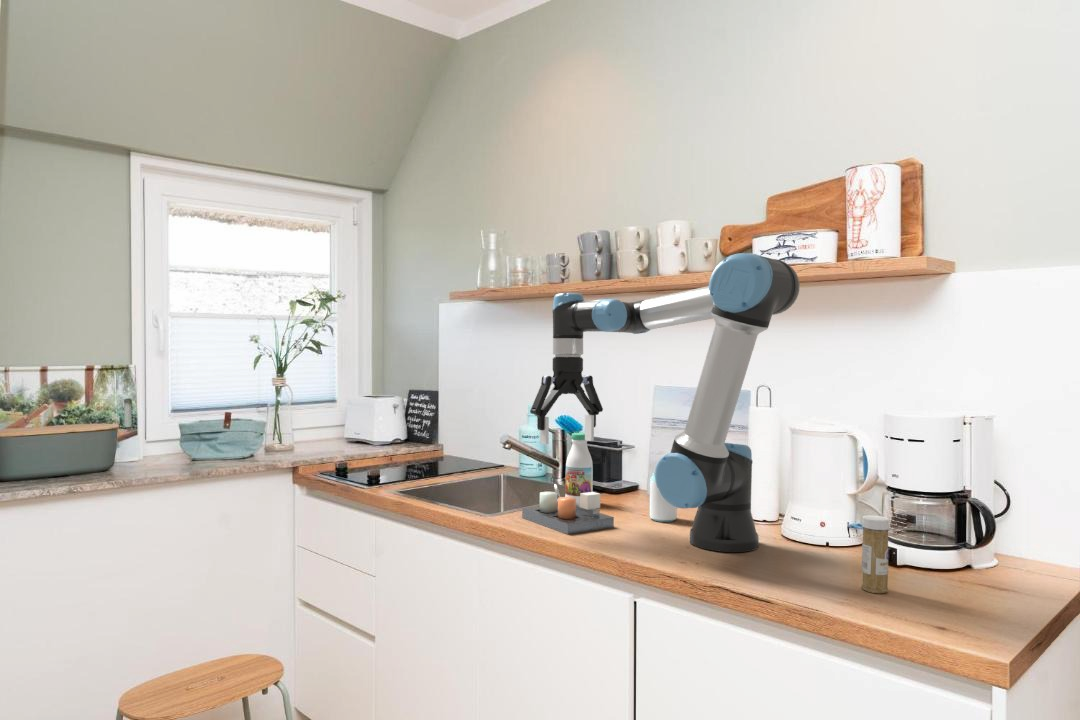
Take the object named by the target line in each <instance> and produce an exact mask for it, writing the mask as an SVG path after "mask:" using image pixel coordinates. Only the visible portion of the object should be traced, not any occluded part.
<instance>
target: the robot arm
mask: <svg viewBox="0 0 1080 720" xmlns="http://www.w3.org/2000/svg"><path fill="white" fill-rule="evenodd" d="M799 295H800V279H799V276H798V274H797V272H796V271H795V269H794V268H793V267H792V266H791V265H790V264H788V263H787V262H785V261H784V260H783V261H782V260H781V259H775V258H770V257H766V256H762V255H758V254H756V253H749V252H746V253H743V252H741V253H735V254H731V255H728V256H727V257H726V258H724V259H722V260H721V261H720V262H719V263H718V264H717V265H716V266H715V268H714V270H713V271H712V273H711V275H710V277H709V282H708V285H707V286H702V287H698V288H694V289H689V290H684V291H679V292H673V293H670V294H665V295H661V296H655V297H652V298H646V299H644V300H638V301H634V302H627V301H626V302H625V301H621V300H619V299H616V298H603V299H594V300H592V299H591V300H584V295H583V294H582V293H579V292H578V293H577V292H562V293H555V295H554V297H553V302H552V303H553V305H552V311H551V312H552V354H553V355H554V356H553V358H552V372H553V376H551V375H543V376H542V377H541V383H540V387H539V389H538V391H537V394H536V395H535V398H534V401H533V403H532V406H531V408H530V410H529V412H530V414H531V415H534V416H535V417H536V418H537V424H536V426H537V430H538V431H539V444H540V445H541V444H543V445H549V439H550V438H549V435H550V434H549V430H550V420H549V419H550V417H549V416H547V415H548V413H549V412H550V411H551V409H552V408H553V406H554V404H555V403H556V401H557V400H558V398H560V396H562V395H569V394H571V395H575V396H576V398H577V399H578V400H579V402H580V404H581V406H583V408H584V410H585V411H586V412H587V414H584V433H585V440H587V442H594V441H595V440H594V439H595V436H594V435H595V428H596V427H597V415H600V413H602V412H603V410H604V408H603V406H602V403H601V401H600V398H599V396H598V393H597V390H596V387H595V385H594V379H593V375H583V374H582V373H583V372H584V371H583V370H584V358H583V357H582V356H583V354H584V332H604V333H627V334H634V335H635V334H636V335H637V334H638V335H639V334H645V333H648V332H649V331H651V330H657V329H661V328H666V327H673V326H679V325H684V324H690V323H694V322H701V321H707V320H712V319H713V320H714V322H715V326H714V328H713V331H712V336H711V339H710V341H709V342H710V343H709V345H708V348H707V349H708V350H707V353H706V356H705V359H704V363H703V366H702V369H701V370H702V371H701V373H700V377H699V380H698V383H697V386H696V390H695V394H694V397H693V401H692V404H691V406H690V407H691V408H690V410H689V414H688V417H687V420H686V423H685V426H684V431H682V432H680V433H679V434H677V435H675V437H674V440H673V443H672V446H671V449H670V452H668V453H667V454H665V455H664V456H662V458H660V459H659V460H658V462H657V464H656V466H655V469H654V470H655V481H656V485H657V488H659V491H660V494H661V495H662V497H663V498H664V499H665V500H666V501H667V502H668V503H670V504H671V505H673V506H675V507H677V509H696V508H697V510H696V513H695V516H694V519H693V521H692V522H693V523H692V527H691V528H690V530H689V542H690V544H691V545H693V546H695V547H697V548H700V549H704V550H708V551H713V552H720V553H721V552H722V553H745V552H751V551H754V550H757V549H758V548H759V542H760V541H759V540H760V538H759V533H758V532H757V529H756V526H755V521H754V518H753V514H752V481H753V480H752V476H753V475H752V474H753V472H752V469H753V456H752V449H751V447H750V446H748V445H746V444H742V443H741V444H740V443H729V442H726V440H727V435H728V433H729V430H730V426H731V423H732V420H733V416H734V413H735V411H736V408H737V407H736V406H737V403H738V401H739V396H740V395H741V391H742V387H743V384H744V381H745V378H746V376H747V375H746V374H747V371H748V368H749V364H750V361H751V358H752V355H753V351H754V348H755V345H756V342H757V338H758V336H759V335H760V334H761V333H762V332H764V331H767V330H768V329H769V326H770V322H771V321H772V316H773V315H778V314H782V313H784V312H786V311H787V310H789V309H790V308H791V307H792V306H793V305H794V304H795V302H796V300H797V299H798V297H799ZM582 384H583V387H584V388H583V387H582ZM552 385H554V386H553V387H552V388H551V386H552ZM550 389H551V390H550ZM584 389H585V390H584ZM549 391H550V393H549ZM585 392H586V393H585Z"/></svg>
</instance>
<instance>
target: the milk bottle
mask: <svg viewBox="0 0 1080 720" xmlns="http://www.w3.org/2000/svg"><path fill="white" fill-rule="evenodd" d="M571 443H572V445H571V448H570V450H569V452H568V455H567V458H566V461H565V462H566V463H565V483H564V484H565V488H564V489H565V490H564V491H565V492H564V493H565V496H564V497H573V498H576V503H577V504H580V493H587V492H594V491H593V490H594V489H593V487H594V485H593V483H594V482H593V481H594V480H593V479H594V477H593V474H594V471H593V469H594V467H593V466H594V465H593V459H592V456H591V453H590V451H589V448H588V441H587V440H585V432H574V433H573V432H572V433H571Z"/></svg>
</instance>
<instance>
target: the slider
mask: <svg viewBox="0 0 1080 720" xmlns="http://www.w3.org/2000/svg"><path fill="white" fill-rule="evenodd" d="M580 507H581V508H584V509H587V510H588V509H600V508H601V493H599V492H594V491H593V492H587V493H580Z"/></svg>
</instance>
